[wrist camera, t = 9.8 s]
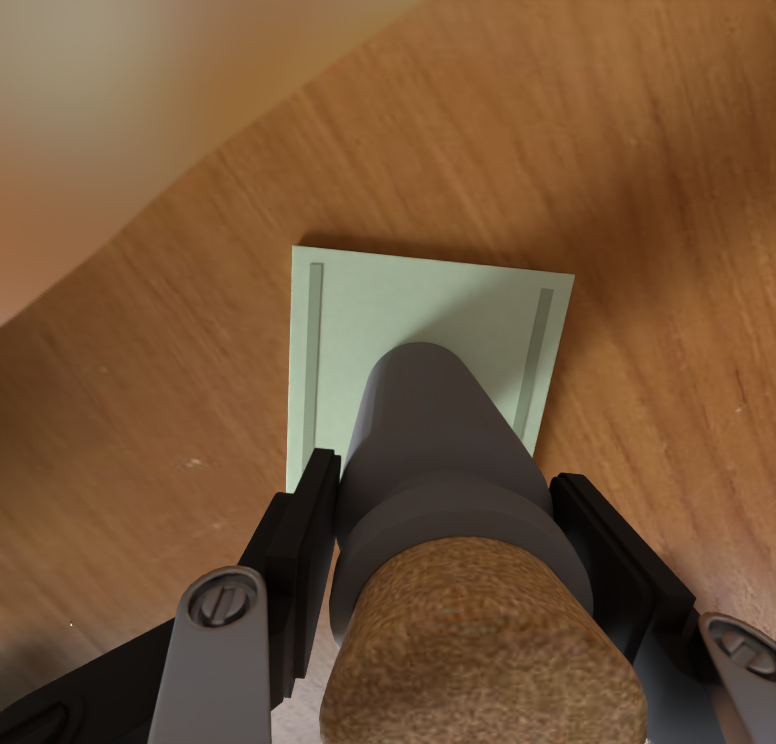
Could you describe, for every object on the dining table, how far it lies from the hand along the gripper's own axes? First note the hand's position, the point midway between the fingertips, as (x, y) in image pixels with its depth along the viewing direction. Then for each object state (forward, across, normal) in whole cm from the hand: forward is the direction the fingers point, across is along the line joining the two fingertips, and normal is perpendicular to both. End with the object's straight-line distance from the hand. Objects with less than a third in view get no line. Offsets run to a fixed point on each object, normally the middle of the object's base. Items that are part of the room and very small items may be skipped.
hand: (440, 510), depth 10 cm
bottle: (+10, 0, 0) cm, 10 cm away
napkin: (+10, 0, 0) cm, 10 cm away
